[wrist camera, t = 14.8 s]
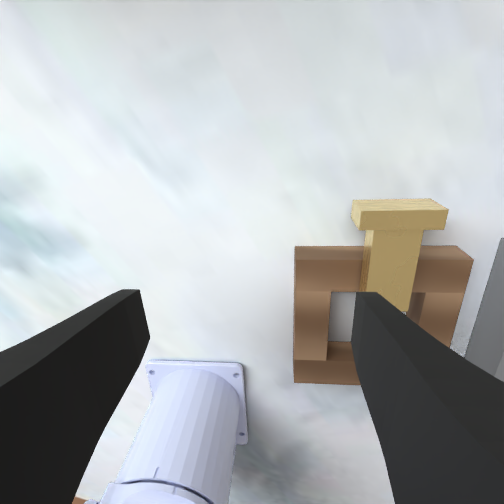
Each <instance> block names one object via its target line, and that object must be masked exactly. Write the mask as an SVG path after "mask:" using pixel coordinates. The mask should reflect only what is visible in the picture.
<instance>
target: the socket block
mask: <svg viewBox="0 0 504 504" xmlns="http://www.w3.org/2000/svg"><path fill="white" fill-rule="evenodd" d="M363 252H364V246H295V260H294V333H293V373H294V383H315V384H340V385H361V384H360V381H359V378H358V375H357V371H356V367H355V362H354V357H353V351H352V346H351V342H334V341H328V328H329V314H330V300H331V292H359V287H360V278H361V270H362V261H363ZM473 261H474V259H472V258H471V257H470V256H469V255H467V254H466V253H465V252H464V251H462V250H461V249H460V248H458V247H457V246H421V247H420V252H419V257H418V262H417V267H416V272H415V277H414V283H413V288H412V293H411V298H410V303H409V308H408V312H406V316H407V317H408V318H410V319H411V320H412V321H413V322H415V323H416V324H417V325H419V326H420V327H421V328H422V329H424V330H425V331H426V332H428V333H429V334H430V335H432V336H433V337H434V338H436V339H437V340H439V341H440V342H441V343H443V344H444V345H446V346H447V347H450V344H451V340H452V337H453V333H454V329H455V326H456V322H457V319H458V315H459V311H460V308H461V304H462V301H463V297H464V294H465V290H466V286H467V283H468V279H469V276H470V272H471V268H472V265H473Z"/></svg>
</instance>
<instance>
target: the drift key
mask: <svg viewBox="0 0 504 504" xmlns="http://www.w3.org/2000/svg"><path fill="white" fill-rule="evenodd" d="M447 215H448V209H447V208H445V207H443V206H442V205H440V204H438V203H437V202H435V201H434V200H432V199H384V200H353V202H352V213H351V218H352V220H353V222H354V223H355V225H356V226H357V228H358V230H366V235H365V243H364V252H363V261H362V270H361V278H360V287H359V292H377V293H379V294H380V295H381V296H383V297H384V298H385V299H386V300H388V301H389V302H390V303H391V304H392V305H394V306H395V307H396V308H397V309H399V310H400V311H403V312H408V308H409V303H410V298H411V293H412V288H413V283H414V277H415V272H416V267H417V262H418V257H419V252H420V247H421V242H422V237H423V231H424V230H444V228H445V224H446V219H447Z"/></svg>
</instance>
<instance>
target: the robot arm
mask: <svg viewBox="0 0 504 504" xmlns="http://www.w3.org/2000/svg"><path fill="white" fill-rule="evenodd" d="M149 340H150V334H149V330H148V325H147V321H146V316H145V312H144V307H143V303H142V299H141V294H140V290H134V289H122V290H120V291H118V292H115V293H113V294H111V295H109V296H107V297H106V298H104V299H102V300H100V301H98V302H96V303H95V304H93V305H91V306H89V307H87V308H86V309H84V310H82V311H80V312H78V313H77V314H75V315H73V316H71V317H70V318H68V319H66V320H64V321H62V322H60V323H58V324H56V325H55V326H53V327H51V328H49V329H47V330H45V331H43V332H41V333H39V334H37V335H35V336H33V337H31V338H30V339H28V340H25V341H23V342H21V343H19V344H17V345H15V346H13V347H11V348H9V349H6V350H4V351H2V352H0V504H72V502H73V499H74V497H75V494H76V492H77V489H78V487H79V484H80V482H81V479H82V477H83V475H84V472H85V470H86V468H87V466H88V463H89V461H90V459H91V456H92V454H93V452H94V450H95V447H96V445H97V443H98V441H99V439H100V437H101V435H102V433H103V431H104V429H105V427H106V425H107V423H108V421H109V420H110V418H111V416H112V414H113V412H114V411H115V409H116V407H117V405H118V404H119V402H120V400H121V398H122V396H123V395H124V393H125V391H126V389H127V387H128V386H129V384H130V382H131V380H132V378H133V376H134V375H135V373H136V371H137V369H138V367H139V365H140V363H141V361H142V358H143V356H144V353H145V351H146V348H147V345H148V342H149ZM351 346H352V351H353V357H354V362H355V367H356V371H357V375H358V378H359V381H360V384H361V387H362V390H363V393H364V396H365V399H366V402H367V405H368V408H369V411H370V414H371V417H372V420H373V423H374V426H375V429H376V432H377V435H378V438H379V441H380V444H381V448H382V451H383V455H384V458H385V462H386V467H387V471H388V475H389V479H390V484H391V488H392V492H393V497H394V501H395V504H504V382H503V381H501V380H499V379H497V378H496V377H494V376H493V375H491V374H489V373H488V372H486V371H484V370H483V369H481V368H479V367H478V366H476V365H474V364H473V363H471V362H470V361H468V360H466V359H465V358H463V357H462V356H460V355H459V354H457V353H456V352H454V351H453V350H452V349H450V348H449V347H447V346H446V345H444V344H443V343H441V342H440V341H439V340H437V339H436V338H434V337H433V336H432V335H430V334H429V333H428V332H426V331H425V330H424V329H422V328H421V327H420V326H419V325H417V324H416V323H415V322H413V321H412V320H411V319H410V318H408V317H407V316H406V315H405V314H403V313H402V312H401V311H400V310H399V309H397V308H396V307H395V306H394V305H392V304H391V303H390V302H389V301H388V300H386V299H385V298H384V297H383V296H381V295H380V294H379V293H377V292H356V301H355V310H354V319H353V328H352V337H351ZM145 367H146V371H147V376H148V380H149V384H150V388H151V392H152V396H153V398H152V400H151V403H150V405H149V407H148V409H147V412H146V414H145V416H144V418H143V420H142V423H141V425H140V427H139V429H138V431H137V434H136V436H135V438H134V440H133V443H132V445H131V447H130V449H129V451H128V454H127V456H126V458H125V460H124V462H123V465H122V467H121V469H120V471H119V474H118V476H117V478H116V480H115V482H114V483H113V482H110V483H108V486H107V488H106V490H105V492H104V494H103V496H102V498H101V501H100V503H99V502H98V501H95V500H93V499H89V500H88V501H86V502H85V503H84V504H228V501H229V494H230V487H231V479H232V472H233V465H234V458H235V451H236V444H237V445H245V444H247V442H248V431H247V417H246V404H245V391H244V377H243V367H242V365H241V364H239V363H221V362H191V361H161V360H149V361H148V362H147V364H146V366H145ZM152 370H153V371H152ZM235 373H237V374H235Z"/></svg>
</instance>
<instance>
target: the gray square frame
mask: <svg viewBox="0 0 504 504" xmlns="http://www.w3.org/2000/svg"><path fill="white" fill-rule="evenodd" d="M464 358H465V359H466V360H468V361H470V362H471V363H473V364H474V365H476V366H478V367H479V368H481V369H483V370H484V371H486V372H488V373H489V374H491V375H493V376H494V377H496V378H497V379H499V380H501V381H503V382H504V238H501V241H500V244H499V248H498V251H497V254H496V257H495V260H494V264H493V267H492V270H491V273H490V277H489V280H488V283H487V286H486V290H485V293H484V296H483V299H482V302H481V306H480V309H479V312H478V315H477V319H476V322H475V325H474V328H473V332H472V335H471V338H470V341H469V345H468V348H467V351H466V354H465V357H464Z"/></svg>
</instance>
